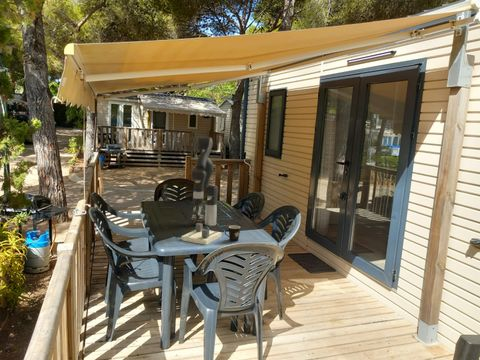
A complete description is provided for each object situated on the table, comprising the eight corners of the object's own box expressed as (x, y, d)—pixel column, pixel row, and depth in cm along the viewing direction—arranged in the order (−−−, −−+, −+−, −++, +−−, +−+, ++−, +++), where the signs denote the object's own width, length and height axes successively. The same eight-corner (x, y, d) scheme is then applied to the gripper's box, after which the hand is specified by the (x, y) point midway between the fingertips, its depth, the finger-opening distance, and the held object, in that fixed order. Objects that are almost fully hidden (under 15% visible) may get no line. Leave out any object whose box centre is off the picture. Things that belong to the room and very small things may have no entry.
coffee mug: (238, 238, 282) (239, 225, 280) (240, 242, 273) (241, 228, 272) (223, 238, 280) (223, 225, 279) (224, 242, 272) (225, 228, 270)
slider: (204, 235, 273) (204, 229, 272) (209, 236, 271) (209, 229, 270) (201, 237, 269) (201, 230, 269) (206, 237, 268) (206, 231, 267)
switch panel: (198, 232, 293) (198, 228, 293) (221, 236, 286) (221, 232, 285) (181, 240, 271) (181, 235, 271) (206, 244, 264) (206, 240, 263)
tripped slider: (197, 229, 288) (198, 223, 288) (202, 230, 287) (202, 223, 286) (195, 230, 285) (195, 224, 284) (200, 231, 283) (200, 224, 283)
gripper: (198, 195, 287) (197, 217, 290) (189, 198, 275) (188, 221, 278) (207, 196, 284) (206, 218, 287) (198, 199, 272) (197, 222, 275)
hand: (197, 219), depth 282 cm, fingers closed
